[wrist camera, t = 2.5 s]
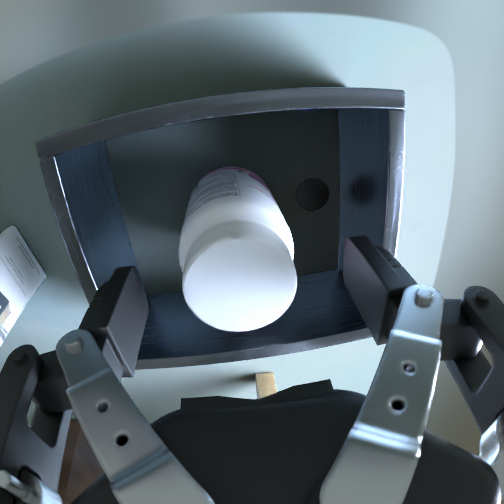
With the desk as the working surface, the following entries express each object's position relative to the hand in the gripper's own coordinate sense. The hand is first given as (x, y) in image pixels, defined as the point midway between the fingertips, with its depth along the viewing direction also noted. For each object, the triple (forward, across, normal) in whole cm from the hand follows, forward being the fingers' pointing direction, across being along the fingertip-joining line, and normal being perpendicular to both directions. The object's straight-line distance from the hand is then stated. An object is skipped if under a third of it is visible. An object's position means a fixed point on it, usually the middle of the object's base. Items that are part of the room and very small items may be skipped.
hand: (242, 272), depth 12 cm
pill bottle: (+7, 0, 0) cm, 7 cm away
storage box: (+7, 0, 0) cm, 7 cm away
